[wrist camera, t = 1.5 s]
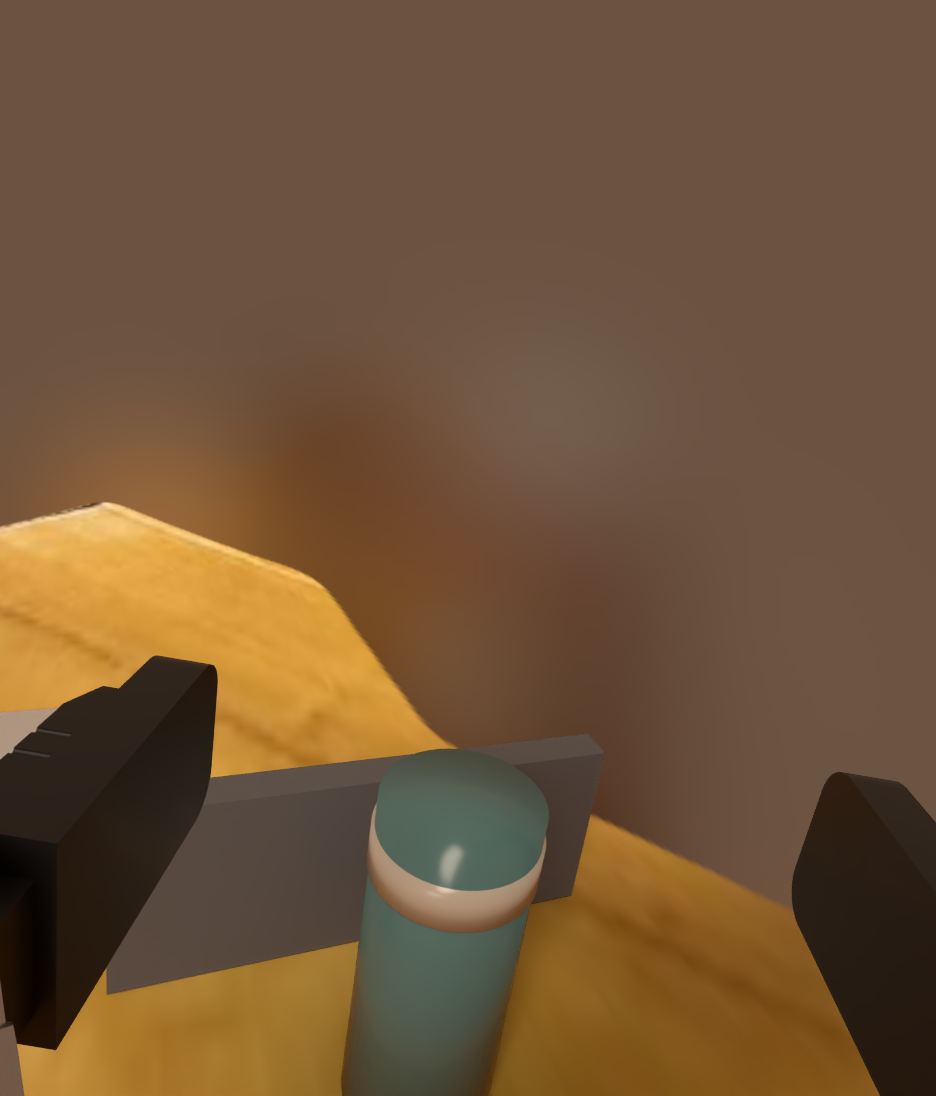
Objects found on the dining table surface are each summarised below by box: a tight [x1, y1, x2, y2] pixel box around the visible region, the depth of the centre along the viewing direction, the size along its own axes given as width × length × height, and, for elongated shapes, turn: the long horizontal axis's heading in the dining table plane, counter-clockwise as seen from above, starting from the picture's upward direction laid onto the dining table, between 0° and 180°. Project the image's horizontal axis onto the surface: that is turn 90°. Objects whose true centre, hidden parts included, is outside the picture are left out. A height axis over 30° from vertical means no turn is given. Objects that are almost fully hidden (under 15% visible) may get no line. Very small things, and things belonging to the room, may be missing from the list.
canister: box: [341, 749, 549, 1096], centre depth 25 cm, size 5×5×12 cm
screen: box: [107, 734, 605, 994], centre depth 32 cm, size 20×2×8 cm, turn 112°
